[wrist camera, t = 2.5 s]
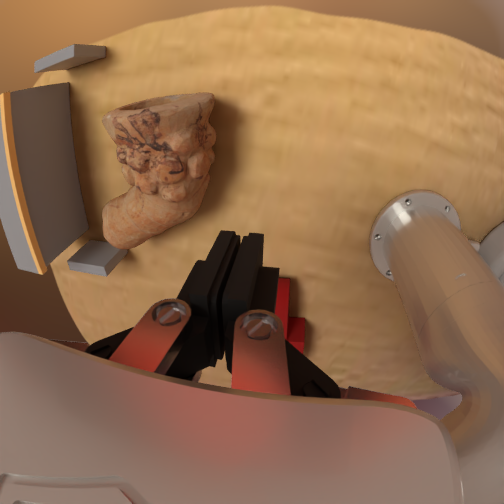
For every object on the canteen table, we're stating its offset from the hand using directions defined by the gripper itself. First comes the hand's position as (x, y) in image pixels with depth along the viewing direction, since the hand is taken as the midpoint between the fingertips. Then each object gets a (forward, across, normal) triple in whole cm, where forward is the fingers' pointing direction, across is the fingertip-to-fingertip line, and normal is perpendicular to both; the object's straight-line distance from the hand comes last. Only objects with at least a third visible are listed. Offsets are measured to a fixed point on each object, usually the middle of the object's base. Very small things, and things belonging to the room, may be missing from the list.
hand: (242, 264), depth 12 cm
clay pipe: (+22, +13, +1) cm, 25 cm away
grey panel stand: (+21, +26, 0) cm, 34 cm away
